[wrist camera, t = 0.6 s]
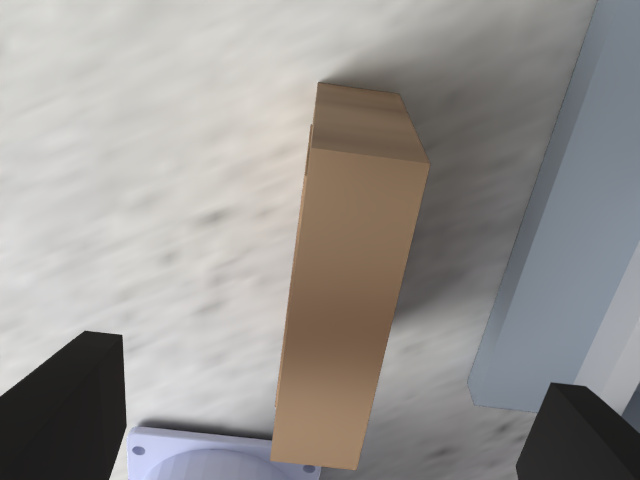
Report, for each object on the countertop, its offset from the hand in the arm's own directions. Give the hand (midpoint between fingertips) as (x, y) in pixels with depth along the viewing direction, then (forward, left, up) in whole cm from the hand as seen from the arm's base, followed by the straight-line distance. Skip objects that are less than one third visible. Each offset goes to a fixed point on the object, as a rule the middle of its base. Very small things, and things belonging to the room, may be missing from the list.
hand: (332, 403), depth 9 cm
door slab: (-1, 0, -10) cm, 10 cm away
